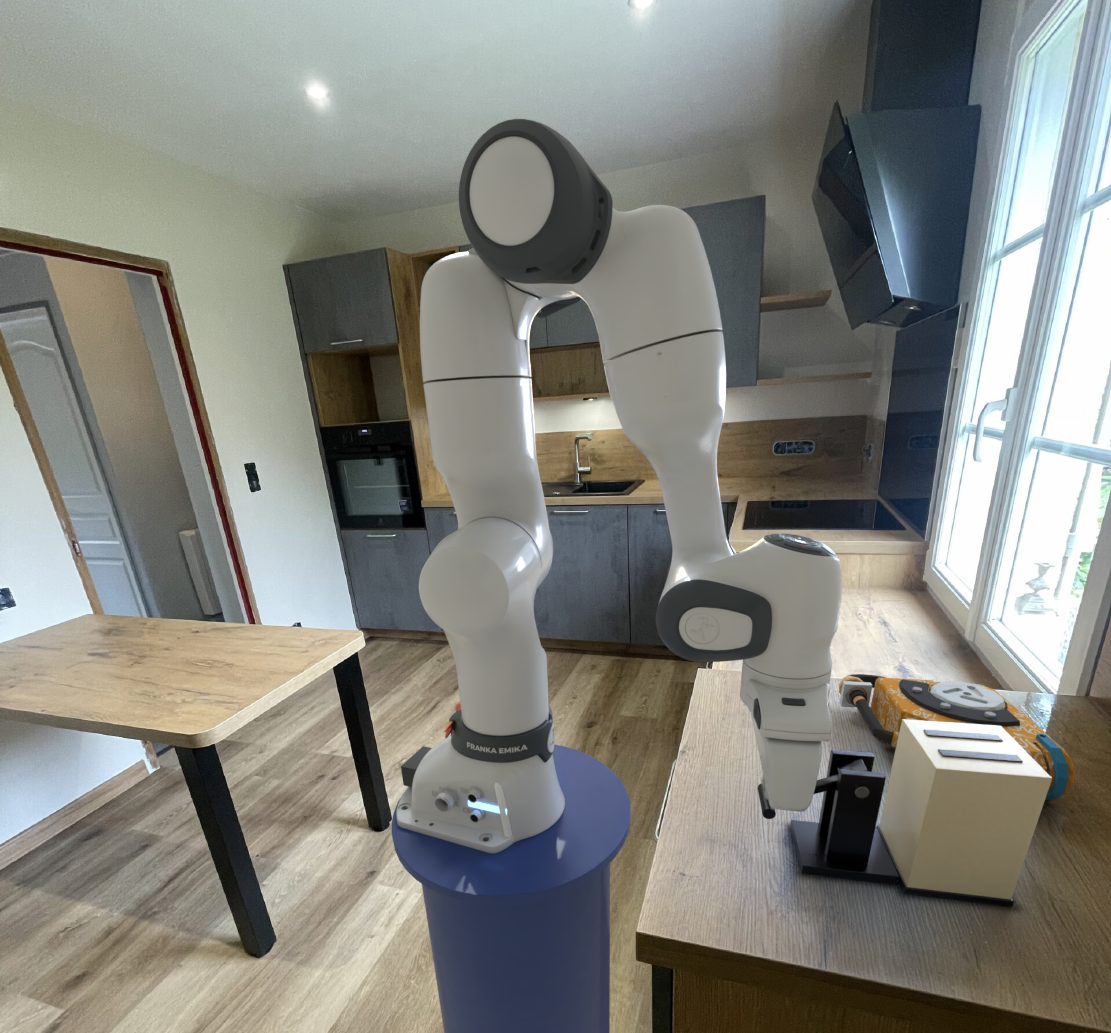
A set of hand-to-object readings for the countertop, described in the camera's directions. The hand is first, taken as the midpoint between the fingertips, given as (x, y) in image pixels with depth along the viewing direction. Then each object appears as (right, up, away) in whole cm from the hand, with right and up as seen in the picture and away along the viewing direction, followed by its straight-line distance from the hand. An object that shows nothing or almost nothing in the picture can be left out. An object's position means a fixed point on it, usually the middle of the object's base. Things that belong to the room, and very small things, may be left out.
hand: (771, 792), depth 68 cm
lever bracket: (+9, -8, +1) cm, 12 cm away
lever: (+5, 0, -1) cm, 5 cm away
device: (+33, +1, +22) cm, 39 cm away
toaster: (+19, -8, -1) cm, 21 cm away
